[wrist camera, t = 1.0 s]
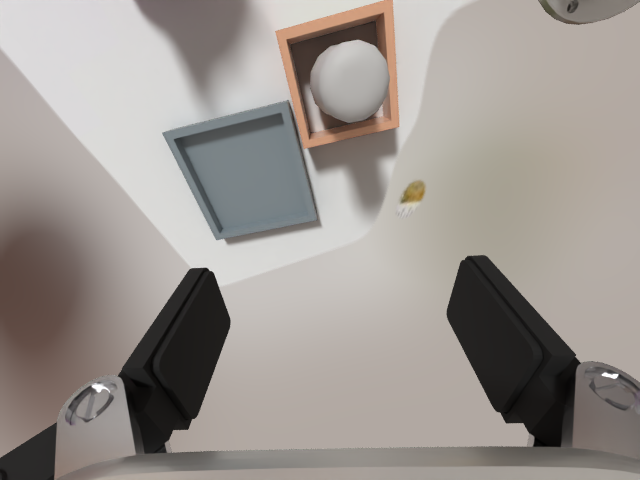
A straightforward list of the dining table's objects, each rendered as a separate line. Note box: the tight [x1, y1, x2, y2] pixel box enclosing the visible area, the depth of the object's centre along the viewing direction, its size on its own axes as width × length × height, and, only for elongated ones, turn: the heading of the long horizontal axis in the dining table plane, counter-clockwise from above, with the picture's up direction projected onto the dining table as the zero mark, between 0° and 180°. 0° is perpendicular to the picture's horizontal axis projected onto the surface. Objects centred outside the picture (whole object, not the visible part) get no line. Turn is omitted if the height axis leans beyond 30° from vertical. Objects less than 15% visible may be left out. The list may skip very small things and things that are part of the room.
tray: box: [162, 100, 317, 240], centre depth 30 cm, size 13×13×2 cm
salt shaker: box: [310, 40, 390, 123], centre depth 20 cm, size 6×6×13 cm
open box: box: [275, 0, 399, 149], centre depth 24 cm, size 9×9×4 cm
